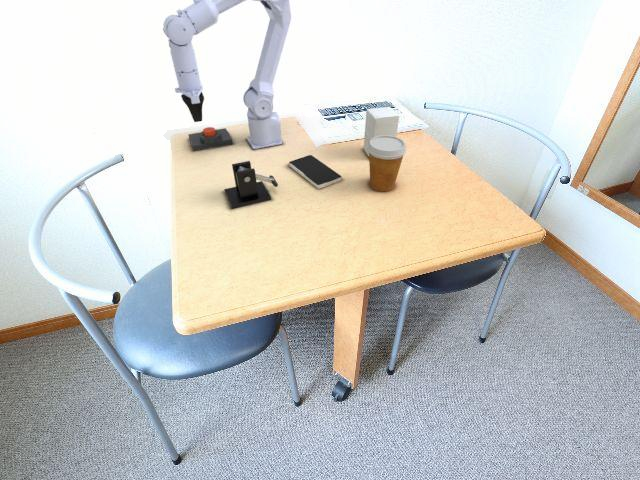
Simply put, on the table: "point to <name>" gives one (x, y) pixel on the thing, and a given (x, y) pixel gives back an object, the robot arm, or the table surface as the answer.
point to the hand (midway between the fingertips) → (198, 120)
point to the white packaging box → (380, 124)
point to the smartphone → (315, 171)
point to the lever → (262, 177)
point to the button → (209, 131)
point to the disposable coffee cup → (385, 161)
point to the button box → (210, 140)
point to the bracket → (246, 187)
